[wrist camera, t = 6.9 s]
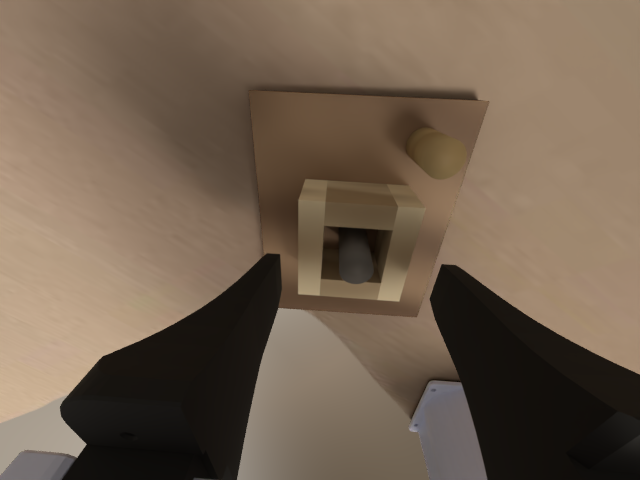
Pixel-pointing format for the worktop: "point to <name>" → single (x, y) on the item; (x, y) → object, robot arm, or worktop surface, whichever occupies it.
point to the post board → (359, 178)
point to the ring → (357, 212)
